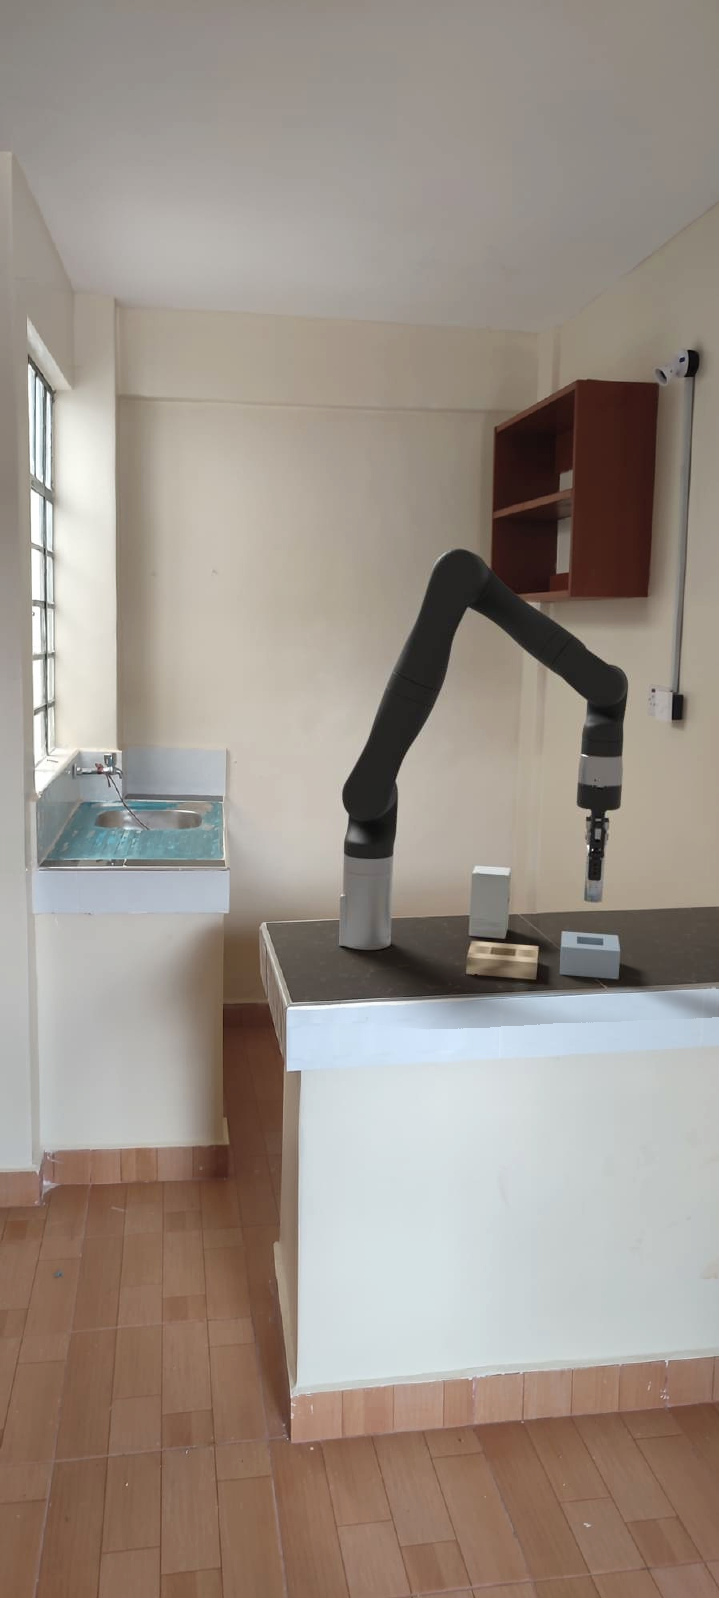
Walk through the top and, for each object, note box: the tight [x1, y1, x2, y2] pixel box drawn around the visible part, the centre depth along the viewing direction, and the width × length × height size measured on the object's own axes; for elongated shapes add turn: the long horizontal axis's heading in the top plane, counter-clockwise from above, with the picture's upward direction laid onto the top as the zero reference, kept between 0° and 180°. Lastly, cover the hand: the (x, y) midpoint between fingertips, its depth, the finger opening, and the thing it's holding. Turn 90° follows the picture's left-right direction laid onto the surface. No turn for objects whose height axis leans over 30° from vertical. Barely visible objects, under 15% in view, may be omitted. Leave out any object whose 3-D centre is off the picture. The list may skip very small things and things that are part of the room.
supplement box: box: [468, 865, 512, 940], centre depth 222 cm, size 7×7×13 cm
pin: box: [583, 831, 609, 903], centre depth 199 cm, size 4×4×12 cm
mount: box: [465, 940, 539, 981], centre depth 201 cm, size 12×10×3 cm
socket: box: [559, 930, 621, 980], centre depth 202 cm, size 10×10×5 cm
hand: (594, 877), depth 199 cm, fingers closed on pin, 3 cm apart
